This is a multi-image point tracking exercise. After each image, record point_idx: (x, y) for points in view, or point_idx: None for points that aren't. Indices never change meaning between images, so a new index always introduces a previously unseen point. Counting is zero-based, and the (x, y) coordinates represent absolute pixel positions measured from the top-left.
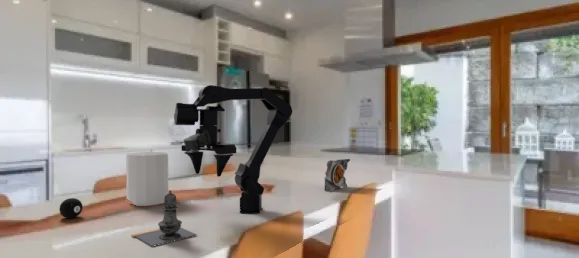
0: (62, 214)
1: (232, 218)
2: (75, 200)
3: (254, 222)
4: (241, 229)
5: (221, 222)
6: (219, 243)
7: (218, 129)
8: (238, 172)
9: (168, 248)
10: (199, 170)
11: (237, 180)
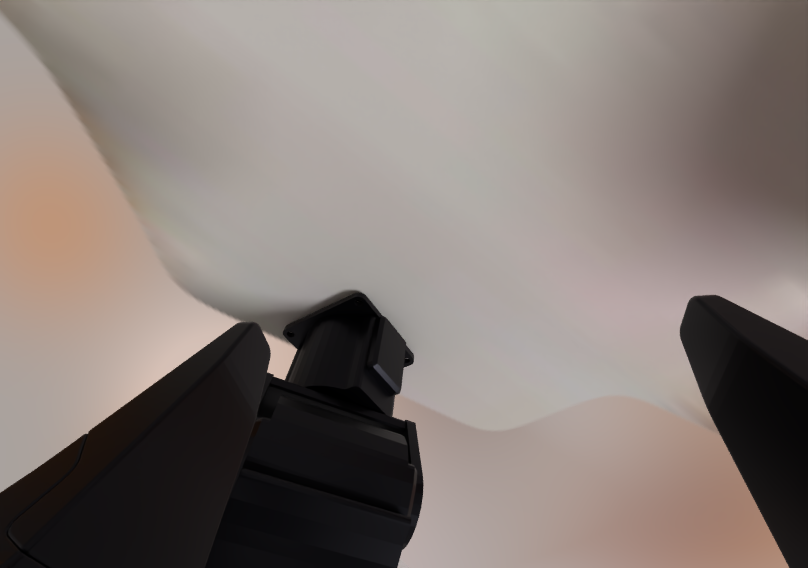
0: None
1: (300, 202)
2: None
3: (161, 221)
4: (62, 81)
5: (265, 101)
6: None
7: None
8: (342, 528)
9: None
10: (701, 375)
11: (343, 450)
